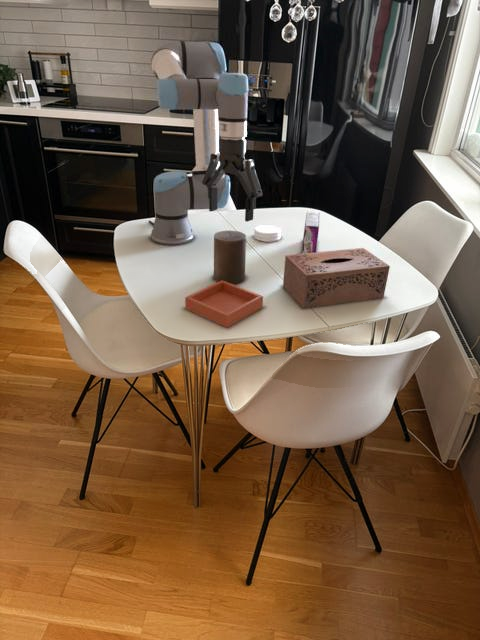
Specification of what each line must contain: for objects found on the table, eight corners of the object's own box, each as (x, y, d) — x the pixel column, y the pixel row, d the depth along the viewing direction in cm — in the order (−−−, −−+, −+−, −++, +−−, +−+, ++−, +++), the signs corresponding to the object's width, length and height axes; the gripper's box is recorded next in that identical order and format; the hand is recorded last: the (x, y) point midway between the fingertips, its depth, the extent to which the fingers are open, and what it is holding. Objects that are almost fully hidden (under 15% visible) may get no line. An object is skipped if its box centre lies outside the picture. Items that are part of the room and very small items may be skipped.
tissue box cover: (302, 308, 134) (306, 275, 129) (282, 286, 146) (285, 255, 141) (383, 297, 141) (389, 266, 136) (358, 277, 153) (363, 247, 148)
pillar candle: (239, 286, 145) (240, 238, 137) (208, 281, 147) (208, 234, 140) (248, 274, 153) (251, 228, 145) (220, 269, 155) (220, 224, 148)
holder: (185, 308, 132) (185, 297, 130) (221, 290, 142) (222, 280, 140) (227, 327, 123) (227, 315, 122) (262, 307, 134) (263, 296, 132)
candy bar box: (300, 256, 167) (303, 240, 181) (315, 257, 166) (316, 241, 181) (304, 224, 161) (306, 211, 176) (319, 226, 161) (320, 212, 175)
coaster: (261, 243, 176) (261, 234, 175) (249, 234, 184) (250, 225, 183) (285, 240, 180) (285, 231, 178) (273, 231, 188) (273, 223, 186)
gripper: (189, 133, 134) (190, 208, 144) (260, 145, 120) (256, 228, 131) (207, 130, 139) (207, 204, 149) (278, 142, 125) (273, 221, 136)
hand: (230, 215), depth 140 cm, fingers open, 13 cm apart
